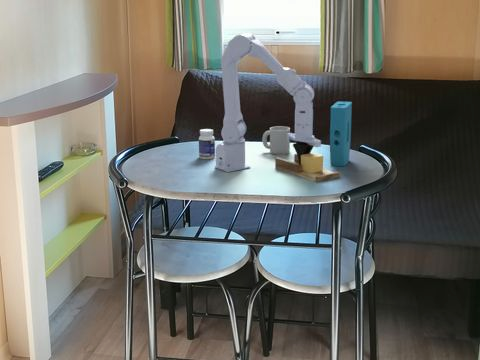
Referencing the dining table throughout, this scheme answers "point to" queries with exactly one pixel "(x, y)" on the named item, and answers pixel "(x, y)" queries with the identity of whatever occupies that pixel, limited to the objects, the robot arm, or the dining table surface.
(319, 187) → the dining table surface
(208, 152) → the pill bottle
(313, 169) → the block
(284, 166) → the chute
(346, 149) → the block
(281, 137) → the cup
